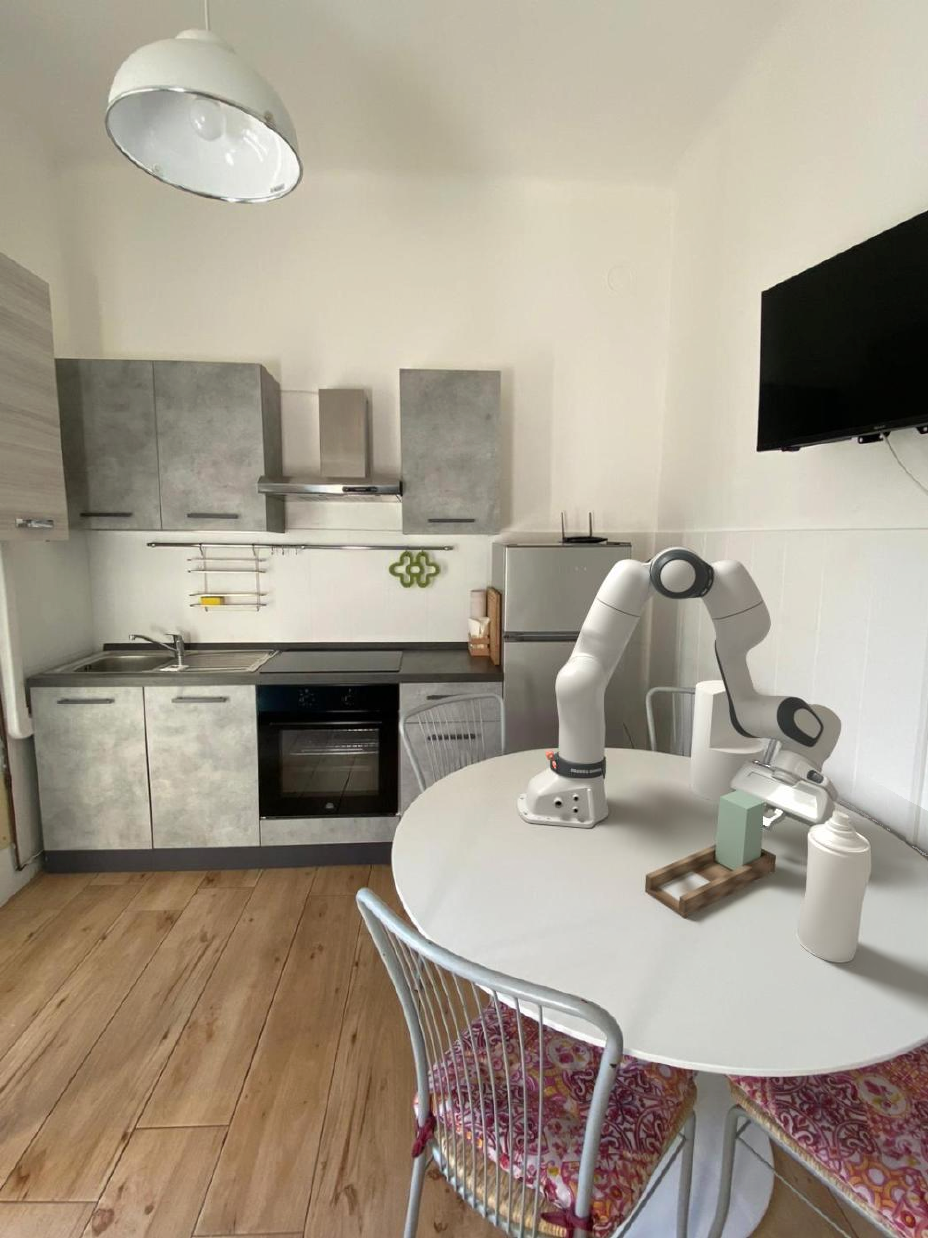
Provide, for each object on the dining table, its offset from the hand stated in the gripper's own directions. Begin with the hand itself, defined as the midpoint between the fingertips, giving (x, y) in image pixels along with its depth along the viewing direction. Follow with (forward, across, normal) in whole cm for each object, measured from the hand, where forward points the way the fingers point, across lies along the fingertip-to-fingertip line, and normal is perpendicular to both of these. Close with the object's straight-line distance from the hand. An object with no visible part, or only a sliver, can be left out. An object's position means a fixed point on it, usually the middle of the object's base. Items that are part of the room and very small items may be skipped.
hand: (762, 827), depth 123 cm
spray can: (+17, +22, -6) cm, 28 cm away
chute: (+16, 0, -6) cm, 18 cm away
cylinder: (-10, -24, +21) cm, 34 cm away
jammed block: (+10, 0, -2) cm, 10 cm away
